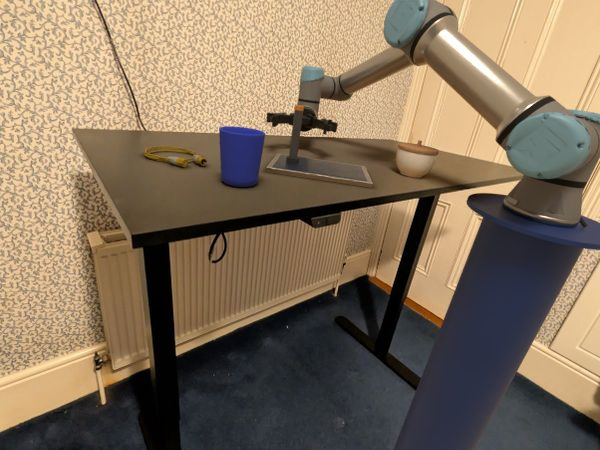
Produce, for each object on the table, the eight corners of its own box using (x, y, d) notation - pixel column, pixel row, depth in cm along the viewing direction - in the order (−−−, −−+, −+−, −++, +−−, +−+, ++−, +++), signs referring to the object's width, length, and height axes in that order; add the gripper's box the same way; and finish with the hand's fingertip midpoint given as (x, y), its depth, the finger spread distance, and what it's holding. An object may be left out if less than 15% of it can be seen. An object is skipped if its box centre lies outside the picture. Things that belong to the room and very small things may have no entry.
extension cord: (144, 167, 64) (143, 157, 63) (144, 149, 77) (143, 141, 76) (207, 168, 69) (208, 159, 68) (197, 152, 82) (197, 144, 81)
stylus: (301, 164, 79) (308, 107, 74) (289, 163, 78) (295, 105, 73) (295, 160, 82) (302, 105, 77) (284, 160, 80) (290, 104, 75)
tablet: (364, 170, 88) (365, 166, 87) (371, 188, 72) (373, 182, 71) (277, 157, 88) (277, 152, 88) (265, 172, 73) (266, 166, 72)
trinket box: (438, 179, 89) (449, 145, 86) (414, 181, 83) (425, 144, 80) (407, 168, 97) (415, 137, 93) (383, 170, 91) (391, 136, 87)
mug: (243, 171, 70) (246, 124, 67) (267, 189, 61) (273, 135, 57) (206, 172, 66) (206, 121, 62) (226, 191, 57) (228, 133, 53)
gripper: (341, 135, 105) (344, 146, 86) (265, 124, 106) (251, 133, 86) (345, 111, 102) (349, 117, 83) (267, 100, 103) (253, 103, 83)
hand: (299, 125), depth 84 cm, fingers open, 13 cm apart
